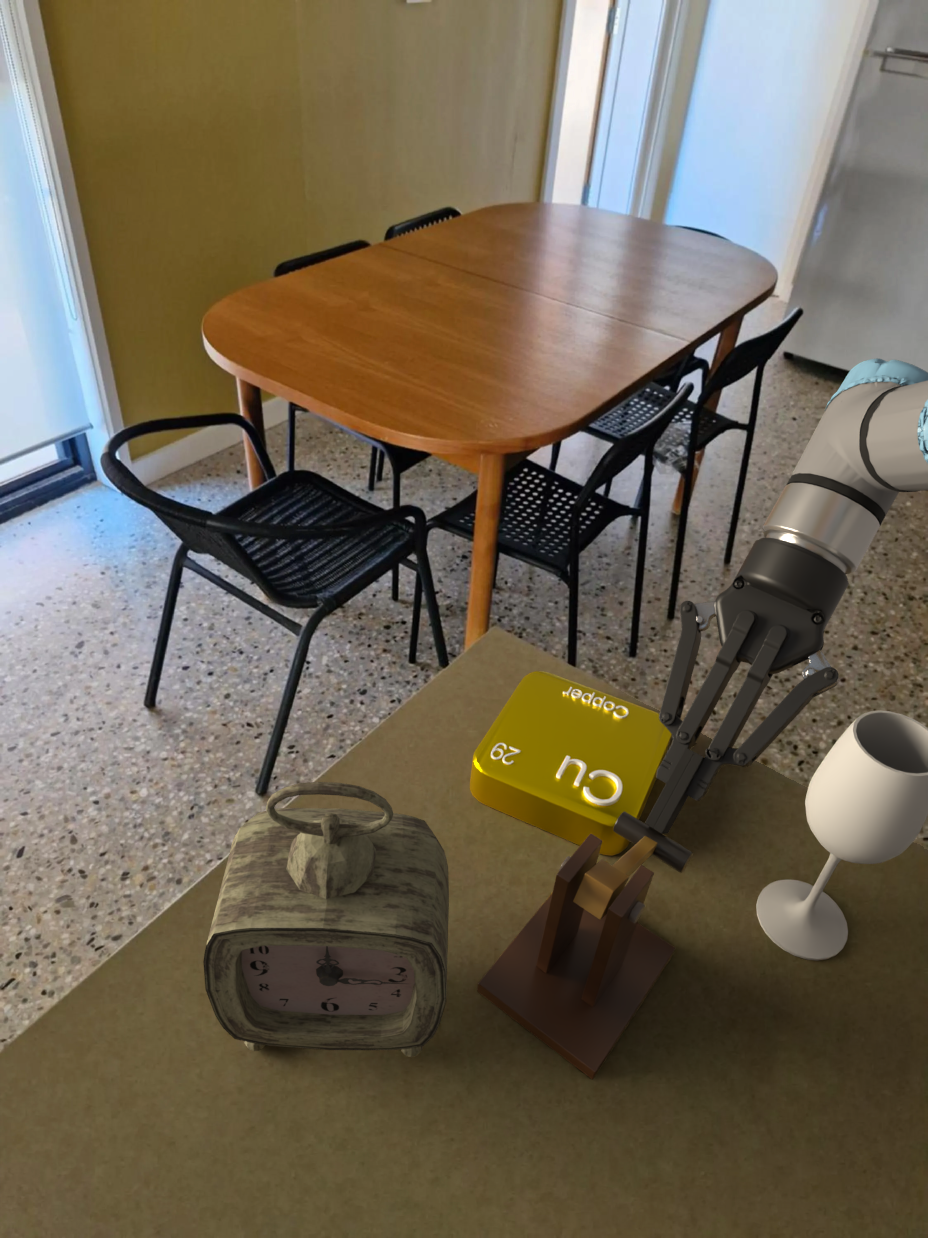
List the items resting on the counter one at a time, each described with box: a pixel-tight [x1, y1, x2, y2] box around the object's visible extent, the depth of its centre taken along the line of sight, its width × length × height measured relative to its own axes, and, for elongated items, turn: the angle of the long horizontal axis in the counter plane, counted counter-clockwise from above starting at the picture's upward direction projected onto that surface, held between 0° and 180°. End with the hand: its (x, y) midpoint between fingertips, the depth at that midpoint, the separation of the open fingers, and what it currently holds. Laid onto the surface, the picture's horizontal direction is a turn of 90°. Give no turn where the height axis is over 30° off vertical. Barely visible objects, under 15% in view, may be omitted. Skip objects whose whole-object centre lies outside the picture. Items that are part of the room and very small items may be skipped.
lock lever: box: [573, 812, 694, 920], centre depth 64 cm, size 12×6×2 cm, turn 142°
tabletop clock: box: [203, 781, 450, 1058], centre depth 56 cm, size 14×9×25 cm, turn 90°
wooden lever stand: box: [476, 834, 676, 1080], centre depth 63 cm, size 12×10×13 cm
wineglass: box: [755, 709, 928, 961], centre depth 65 cm, size 8×8×21 cm
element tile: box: [469, 670, 672, 857], centre depth 81 cm, size 15×15×5 cm
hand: (656, 828), depth 68 cm, fingers closed
